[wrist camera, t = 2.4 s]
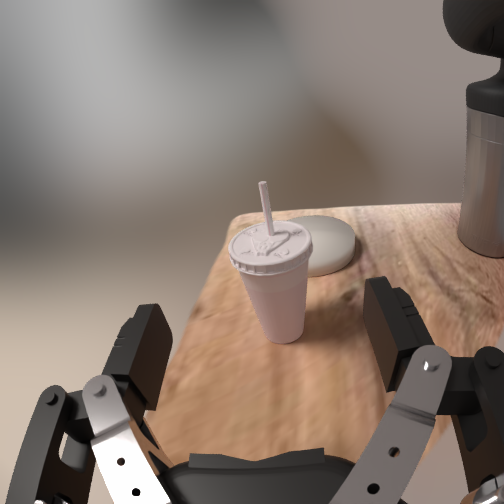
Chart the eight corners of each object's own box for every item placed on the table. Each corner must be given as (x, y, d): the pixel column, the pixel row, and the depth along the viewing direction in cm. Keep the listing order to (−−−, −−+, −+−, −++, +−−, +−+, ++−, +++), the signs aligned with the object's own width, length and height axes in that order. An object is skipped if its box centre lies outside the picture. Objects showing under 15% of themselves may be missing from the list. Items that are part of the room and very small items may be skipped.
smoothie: (322, 307, 30) (312, 168, 22) (311, 359, 25) (298, 204, 17) (260, 303, 32) (233, 172, 24) (240, 351, 27) (198, 207, 19)
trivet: (303, 221, 45) (302, 209, 44) (370, 241, 38) (370, 227, 37) (249, 258, 39) (247, 244, 38) (321, 289, 32) (320, 274, 31)
